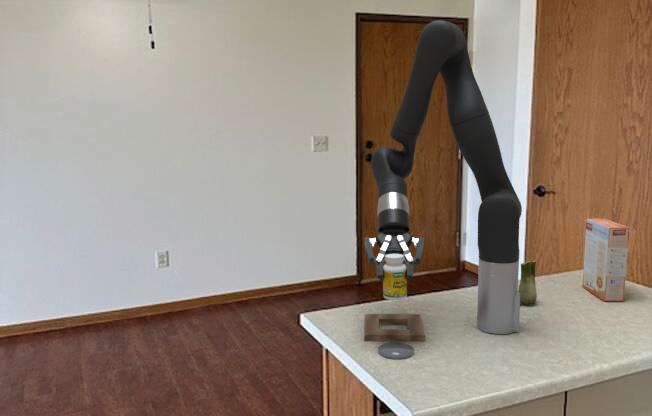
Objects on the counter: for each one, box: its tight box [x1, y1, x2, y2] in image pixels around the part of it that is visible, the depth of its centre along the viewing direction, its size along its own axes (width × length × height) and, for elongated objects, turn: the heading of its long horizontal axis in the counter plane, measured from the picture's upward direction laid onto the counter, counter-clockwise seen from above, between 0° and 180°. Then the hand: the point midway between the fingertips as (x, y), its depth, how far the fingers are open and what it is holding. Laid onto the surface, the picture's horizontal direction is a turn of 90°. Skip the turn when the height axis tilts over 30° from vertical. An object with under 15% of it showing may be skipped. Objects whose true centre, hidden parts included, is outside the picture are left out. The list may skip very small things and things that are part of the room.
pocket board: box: [363, 313, 426, 342], centre depth 140 cm, size 14×14×2 cm
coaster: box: [377, 341, 415, 360], centre depth 127 cm, size 8×8×1 cm
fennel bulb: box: [518, 260, 538, 306], centre depth 156 cm, size 6×5×12 cm
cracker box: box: [581, 217, 630, 302], centre depth 163 cm, size 14×6×21 cm, turn 179°
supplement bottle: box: [382, 254, 408, 301], centre depth 129 cm, size 5×5×10 cm
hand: (395, 279), depth 127 cm, fingers closed on supplement bottle, 5 cm apart
